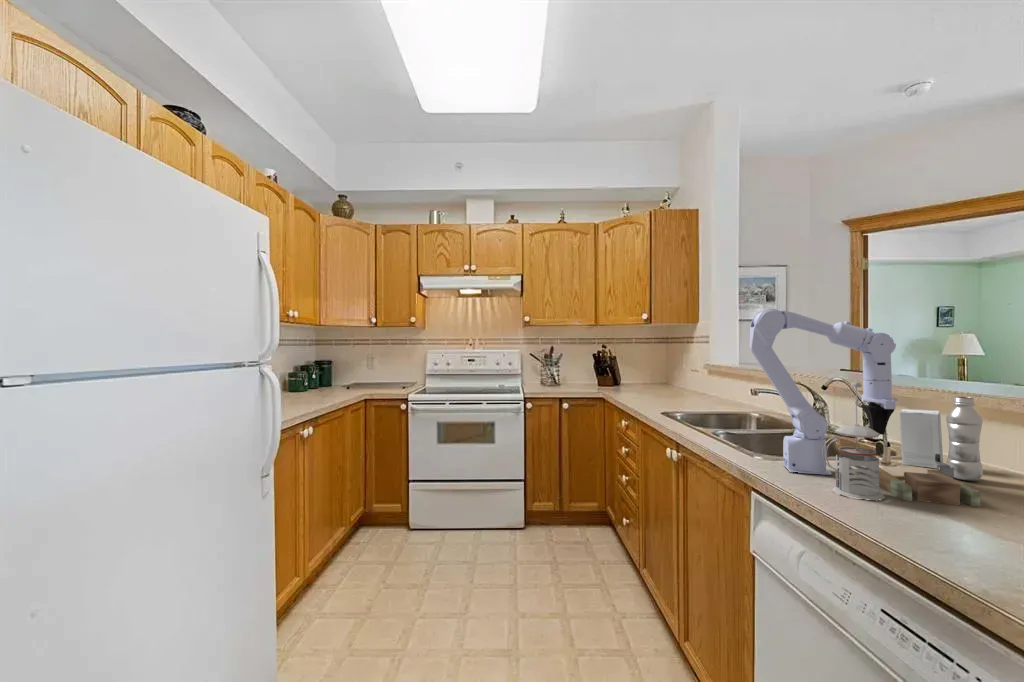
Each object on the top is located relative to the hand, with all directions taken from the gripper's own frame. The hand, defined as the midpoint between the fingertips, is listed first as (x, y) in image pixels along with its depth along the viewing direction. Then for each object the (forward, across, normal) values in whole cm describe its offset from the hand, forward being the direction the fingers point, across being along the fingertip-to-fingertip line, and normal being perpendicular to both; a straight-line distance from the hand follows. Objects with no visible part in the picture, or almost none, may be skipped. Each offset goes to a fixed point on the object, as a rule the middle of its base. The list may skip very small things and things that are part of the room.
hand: (878, 433), depth 119 cm
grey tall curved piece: (+10, -18, +11) cm, 24 cm away
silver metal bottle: (+11, +1, -18) cm, 21 cm away
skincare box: (+11, +14, -15) cm, 23 cm away
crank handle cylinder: (+11, -3, -12) cm, 16 cm away
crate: (+11, -16, -4) cm, 20 cm away
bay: (+10, -12, -3) cm, 16 cm away
